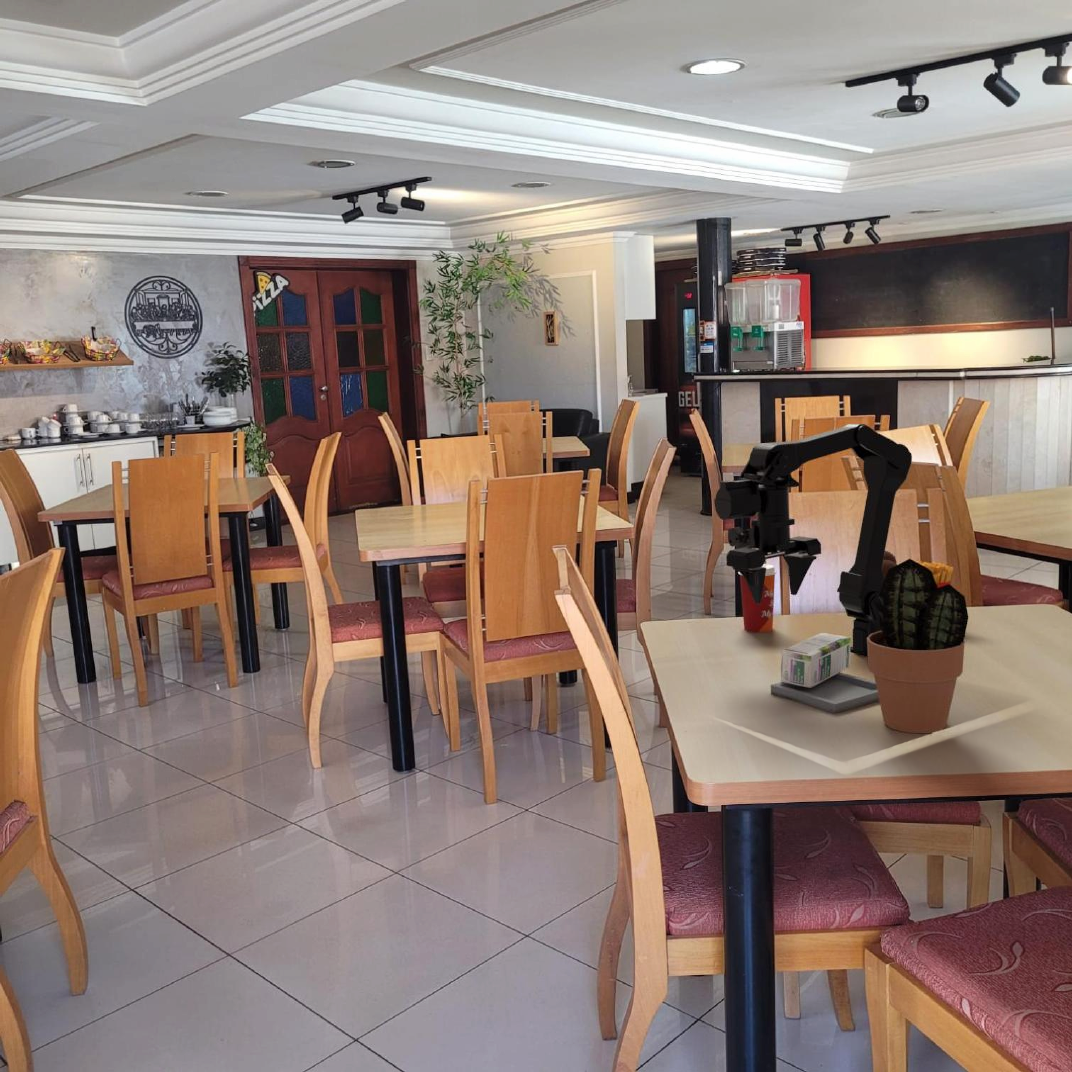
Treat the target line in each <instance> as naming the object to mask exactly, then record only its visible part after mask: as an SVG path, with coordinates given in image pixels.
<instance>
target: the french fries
mask: <svg viewBox="0 0 1072 1072" xmlns="http://www.w3.org/2000/svg"><path fill="white" fill-rule="evenodd" d="M914 561H915V562H917V563H919V564H921V565H923V566H924V567H926V568H928V569H929V570H931V571H932V574H933V576H934V579H935V582H936V585H937V587H938V588H939V587H942V586H945V585H947V584H950V585H951V584H952V581H951V580H950V579H951V576H952V574H953V572H954V567H953V566H950V565H947V564H946V563H944V562H942V563H941V562H936V561H934V560H933V561H932V562H931V563H930V562H928V561H927V562H926V561H922V560H917V561H916V560H914Z"/></svg>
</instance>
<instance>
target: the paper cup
mask: <svg viewBox="0 0 1072 1072" xmlns="http://www.w3.org/2000/svg"><path fill="white" fill-rule="evenodd" d="M762 567H764V568H766V574H765V581H764V588H763V595H762V600H761V603H760V604H756V603H755V602H754V600H753V597H752V595H751V592H750V590H749V587H748V585H747V582H746V580H745V579H744V577H743V575H742V574H741V573H740V572H739V571H738V572H737V573H738V575H739V579H740V593H741V603H742V604H741V605H742V618H743V619H742V620H743V628H744V630H745V631H747V632H750V633H767V632H768V633H769V632H771V631H773V628H774V627H773V626H774V624H773V623H774V604H775V582H776V581H775V578H776V574H777V571H776V570H775V569H776V568H775V566H774V565H772V564H768V563H764V564H763V566H762Z"/></svg>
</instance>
